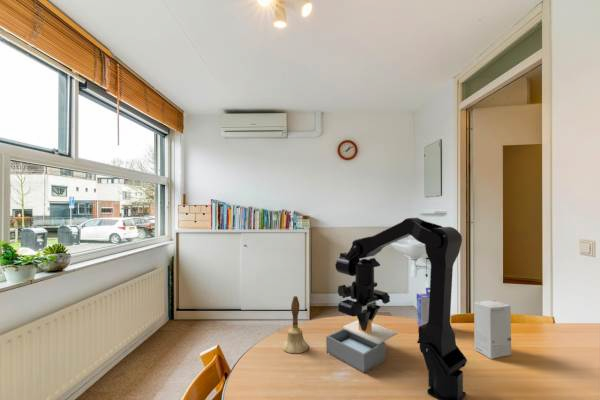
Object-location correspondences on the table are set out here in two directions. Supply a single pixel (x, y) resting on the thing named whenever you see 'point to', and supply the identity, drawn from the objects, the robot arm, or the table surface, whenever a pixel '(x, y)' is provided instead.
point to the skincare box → (492, 328)
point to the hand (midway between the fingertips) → (365, 329)
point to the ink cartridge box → (423, 308)
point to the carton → (355, 350)
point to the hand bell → (295, 333)
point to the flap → (370, 331)
